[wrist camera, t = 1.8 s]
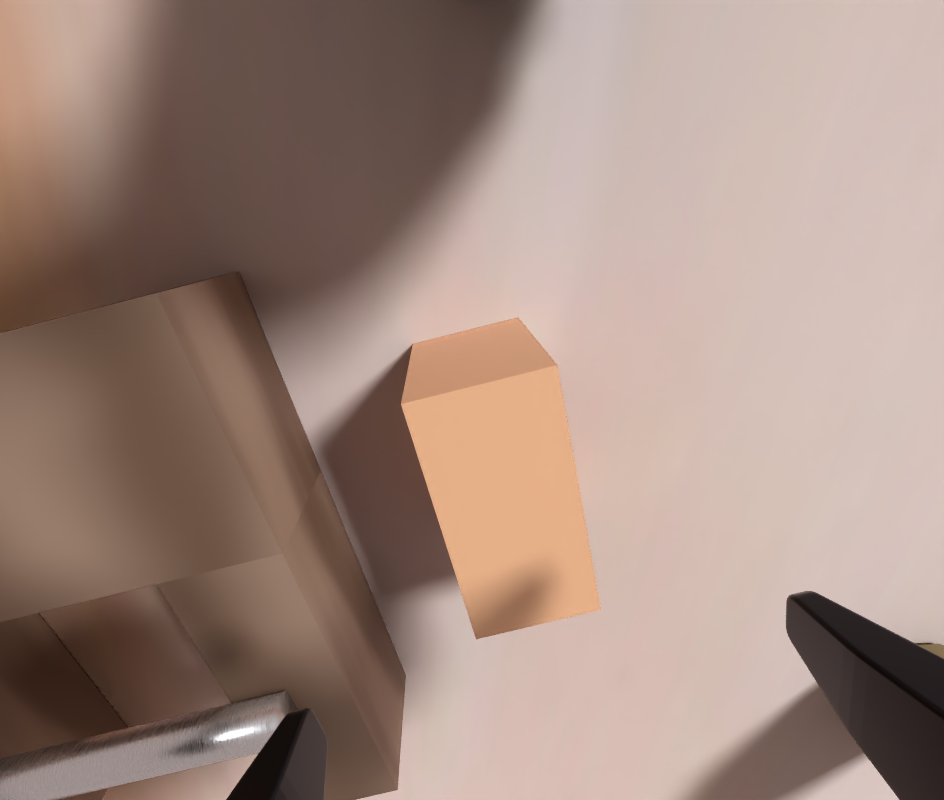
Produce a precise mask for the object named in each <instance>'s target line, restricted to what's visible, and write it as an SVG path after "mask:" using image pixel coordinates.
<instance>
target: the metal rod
mask: <svg viewBox="0 0 944 800" xmlns="http://www.w3.org/2000/svg"><path fill="white" fill-rule="evenodd" d="M295 710H298V709H297V707H296V705H295V704H294V702H293V700H292V698H291V696H290V695H289V693H288V691H282V692H278V693H274V694H270V695H265V696H261V697H257V698H253V699H249V700H244V701H240V702H236V703H232V704H227V705H223V706H219V707H215V708H210V709H206V710H202V711H198V712H193V713H189V714H185V715H181V716H176V717H172V718H168V719H164V720H160V721H155V722H151V723H147V724H143V725H138V726H134V727H130V728H126V729H121V730H117V731H113V732H109V733H104V734H100V735H96V736H92V737H88V738H83V739H79V740H75V741H71V742H66V743H62V744H58V745H54V746H49V747H45V748H41V749H37V750H32V751H28V752H24V753H20V754H15V755H11V756H7V757H3V758H0V800H59V799H63V798H67V797H72V796H76V795H80V794H85V793H89V792H93V791H97V790H102V789H106V788H110V787H115V786H119V785H123V784H127V783H132V782H136V781H140V780H145V779H149V778H153V777H157V776H162V775H166V774H170V773H175V772H179V771H183V770H187V769H192V768H196V767H200V766H205V765H209V764H213V763H217V762H222V761H226V760H230V759H235V758H239V757H243V756H247V755H252V754H256V753H259V752H260V751H261V749H262V748H263V747H264V745H265V744H266V742H267V741H268V739H269V738H270V737H271V735H272V734H273V732H274V731H275V729H276V728H277V727H278V725H279V724H280V722H281V721H282V719H283V718H284V717H285V716H286V715H287V714H288V713H289V712H291V711H295Z"/></svg>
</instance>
